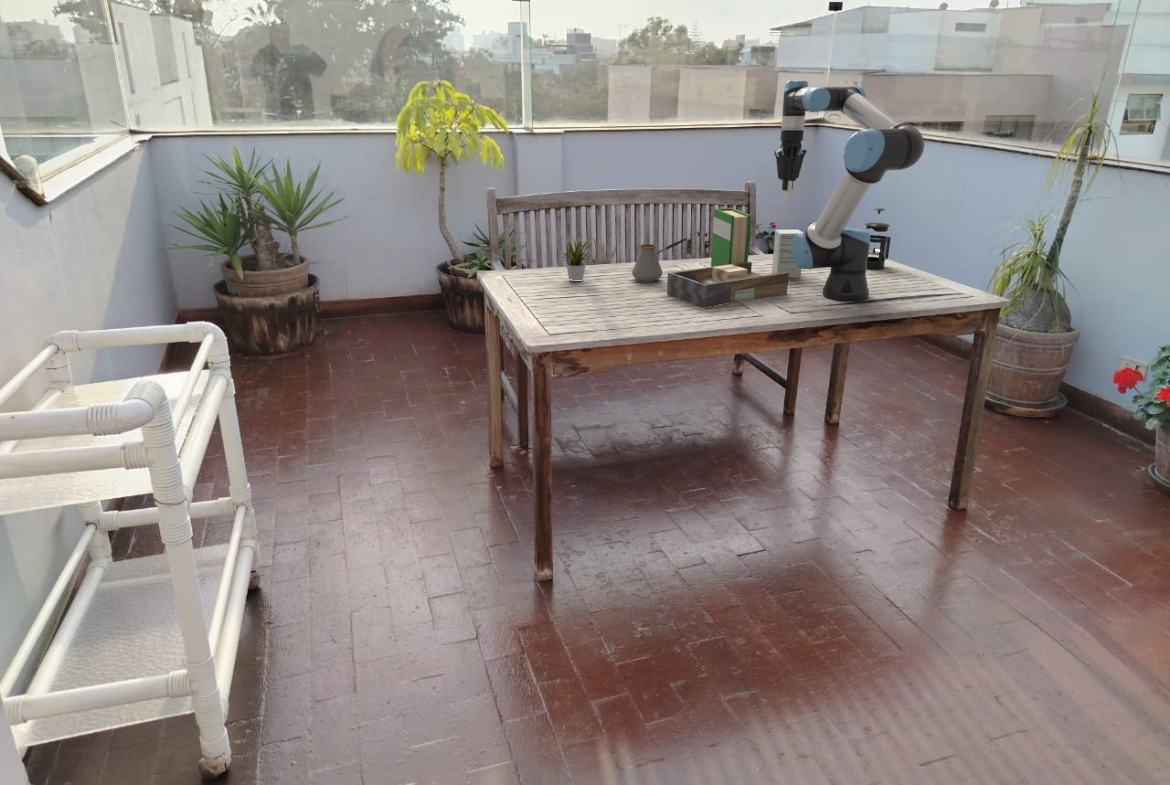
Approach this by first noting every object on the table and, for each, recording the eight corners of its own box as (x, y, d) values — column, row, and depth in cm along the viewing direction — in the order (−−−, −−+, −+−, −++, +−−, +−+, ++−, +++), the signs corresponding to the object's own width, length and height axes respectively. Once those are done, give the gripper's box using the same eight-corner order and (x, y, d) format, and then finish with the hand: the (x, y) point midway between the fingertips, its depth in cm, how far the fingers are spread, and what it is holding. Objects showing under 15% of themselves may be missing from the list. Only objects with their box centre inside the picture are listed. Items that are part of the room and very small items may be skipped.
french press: (868, 270, 311) (875, 211, 303) (853, 265, 320) (860, 207, 311) (893, 268, 315) (901, 209, 306) (877, 263, 323) (885, 206, 315)
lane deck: (786, 294, 278) (788, 272, 275) (703, 307, 262) (704, 285, 259) (747, 281, 295) (749, 261, 292) (667, 293, 279) (667, 272, 276)
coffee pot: (636, 284, 292) (637, 243, 287) (627, 277, 302) (628, 237, 297) (691, 281, 296) (693, 240, 291) (681, 274, 307) (683, 235, 301)
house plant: (605, 278, 300) (605, 235, 295) (588, 286, 289) (588, 241, 283) (571, 274, 307) (571, 232, 301) (553, 282, 295) (553, 238, 289)
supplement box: (801, 278, 300) (805, 233, 294) (776, 278, 300) (780, 233, 294) (795, 272, 309) (799, 229, 302) (771, 272, 309) (774, 229, 303)
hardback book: (746, 280, 297) (751, 215, 289) (727, 281, 296) (731, 215, 287) (728, 270, 313) (732, 208, 305) (710, 271, 312) (714, 208, 303)
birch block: (746, 283, 276) (747, 269, 274) (728, 286, 272) (729, 272, 270) (730, 278, 283) (731, 264, 281) (712, 281, 279) (712, 267, 278)
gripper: (798, 128, 278) (792, 197, 286) (770, 129, 272) (765, 199, 280) (814, 129, 272) (807, 199, 280) (786, 130, 266) (780, 202, 274)
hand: (786, 199), depth 280 cm, fingers closed
